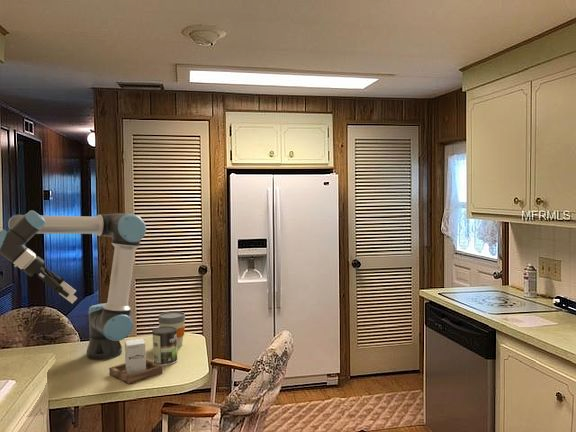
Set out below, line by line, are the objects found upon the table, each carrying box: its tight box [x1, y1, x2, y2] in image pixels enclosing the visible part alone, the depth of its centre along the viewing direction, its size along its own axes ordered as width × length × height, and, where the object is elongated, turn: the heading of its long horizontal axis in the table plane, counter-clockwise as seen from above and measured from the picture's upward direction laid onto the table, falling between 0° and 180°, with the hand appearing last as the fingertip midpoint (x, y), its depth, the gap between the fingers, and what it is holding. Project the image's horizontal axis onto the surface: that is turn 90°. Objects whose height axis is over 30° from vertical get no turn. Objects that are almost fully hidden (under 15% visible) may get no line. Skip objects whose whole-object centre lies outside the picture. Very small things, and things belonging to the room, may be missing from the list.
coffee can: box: [151, 326, 179, 367], centre depth 214 cm, size 10×10×14 cm
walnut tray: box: [108, 359, 163, 386], centre depth 201 cm, size 15×15×3 cm
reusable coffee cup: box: [157, 310, 186, 349], centre depth 234 cm, size 12×12×15 cm
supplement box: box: [124, 338, 146, 375], centre depth 200 cm, size 7×7×13 cm
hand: (74, 297), depth 196 cm, fingers open, 13 cm apart
